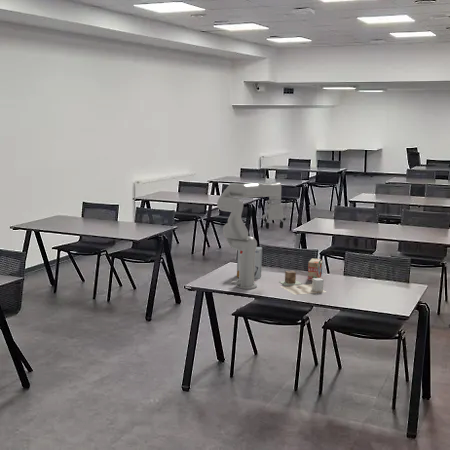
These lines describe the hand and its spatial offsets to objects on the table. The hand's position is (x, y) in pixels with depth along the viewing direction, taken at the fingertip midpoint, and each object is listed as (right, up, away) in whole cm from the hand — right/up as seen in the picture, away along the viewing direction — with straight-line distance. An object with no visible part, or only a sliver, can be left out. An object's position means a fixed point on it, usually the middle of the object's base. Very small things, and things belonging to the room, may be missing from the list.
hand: (274, 228), depth 397 cm
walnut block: (+10, -34, -6) cm, 36 cm away
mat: (+10, -35, -6) cm, 37 cm away
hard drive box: (-16, -32, +9) cm, 37 cm away
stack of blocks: (+28, -33, +12) cm, 45 cm away
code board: (+16, -37, -20) cm, 45 cm away
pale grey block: (+24, -38, -23) cm, 50 cm away
